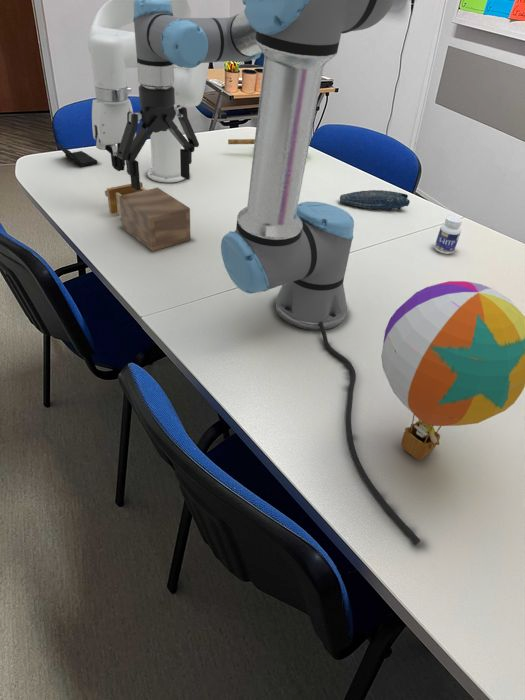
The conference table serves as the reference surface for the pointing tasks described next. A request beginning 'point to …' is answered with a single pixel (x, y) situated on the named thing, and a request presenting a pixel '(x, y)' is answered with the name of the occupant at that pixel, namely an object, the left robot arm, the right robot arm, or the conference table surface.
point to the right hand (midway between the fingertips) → (161, 183)
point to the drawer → (114, 196)
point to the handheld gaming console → (78, 156)
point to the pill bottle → (448, 235)
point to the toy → (453, 358)
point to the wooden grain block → (155, 218)
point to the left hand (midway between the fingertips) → (118, 169)
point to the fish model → (376, 199)
